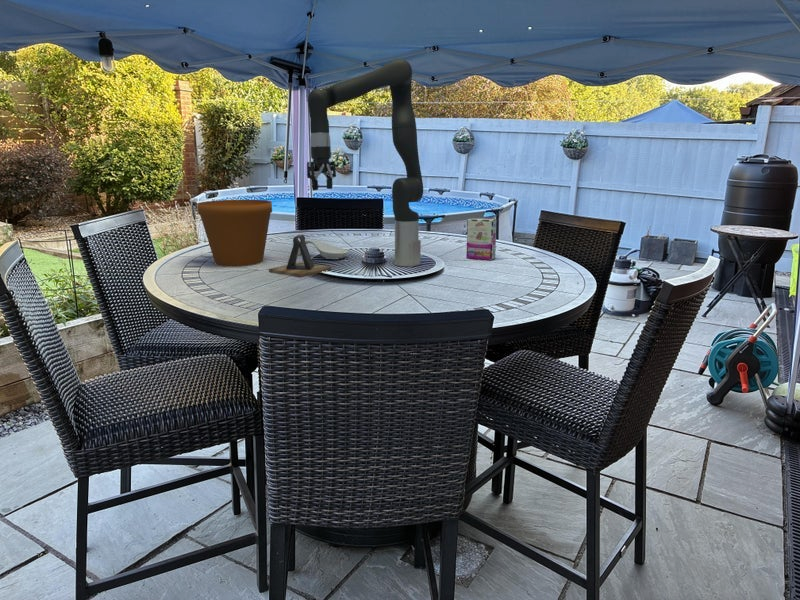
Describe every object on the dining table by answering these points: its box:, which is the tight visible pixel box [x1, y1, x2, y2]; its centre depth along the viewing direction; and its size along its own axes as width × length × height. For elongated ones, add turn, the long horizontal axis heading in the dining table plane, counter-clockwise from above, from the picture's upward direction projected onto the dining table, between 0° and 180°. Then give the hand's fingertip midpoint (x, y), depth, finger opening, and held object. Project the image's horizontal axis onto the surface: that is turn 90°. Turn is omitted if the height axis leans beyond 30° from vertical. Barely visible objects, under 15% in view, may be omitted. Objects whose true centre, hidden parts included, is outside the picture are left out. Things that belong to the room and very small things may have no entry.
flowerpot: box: [196, 199, 273, 267], centre depth 227 cm, size 28×28×24 cm
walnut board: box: [268, 261, 332, 278], centre depth 213 cm, size 16×16×1 cm
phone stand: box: [286, 234, 315, 270], centre depth 211 cm, size 9×6×12 cm, turn 85°
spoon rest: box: [297, 239, 349, 259], centre depth 240 cm, size 24×12×7 cm, turn 63°
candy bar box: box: [466, 218, 497, 262], centre depth 235 cm, size 11×5×16 cm, turn 62°
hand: (322, 189), depth 220 cm, fingers open, 8 cm apart
